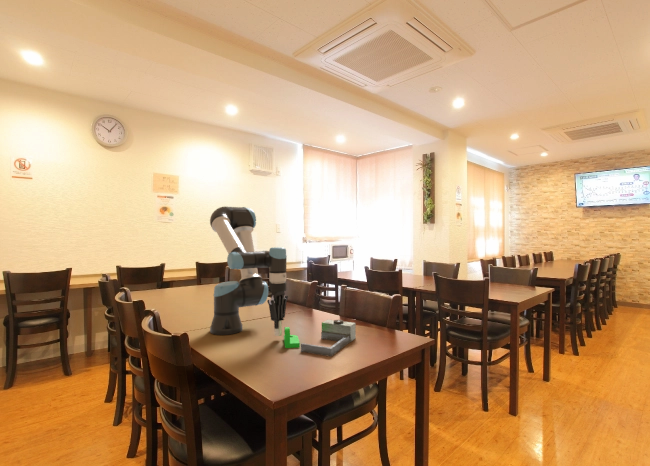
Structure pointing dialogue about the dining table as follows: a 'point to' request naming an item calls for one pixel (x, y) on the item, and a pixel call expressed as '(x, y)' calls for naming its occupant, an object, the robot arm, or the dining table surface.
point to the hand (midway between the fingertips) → (278, 335)
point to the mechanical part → (290, 339)
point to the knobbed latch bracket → (333, 337)
